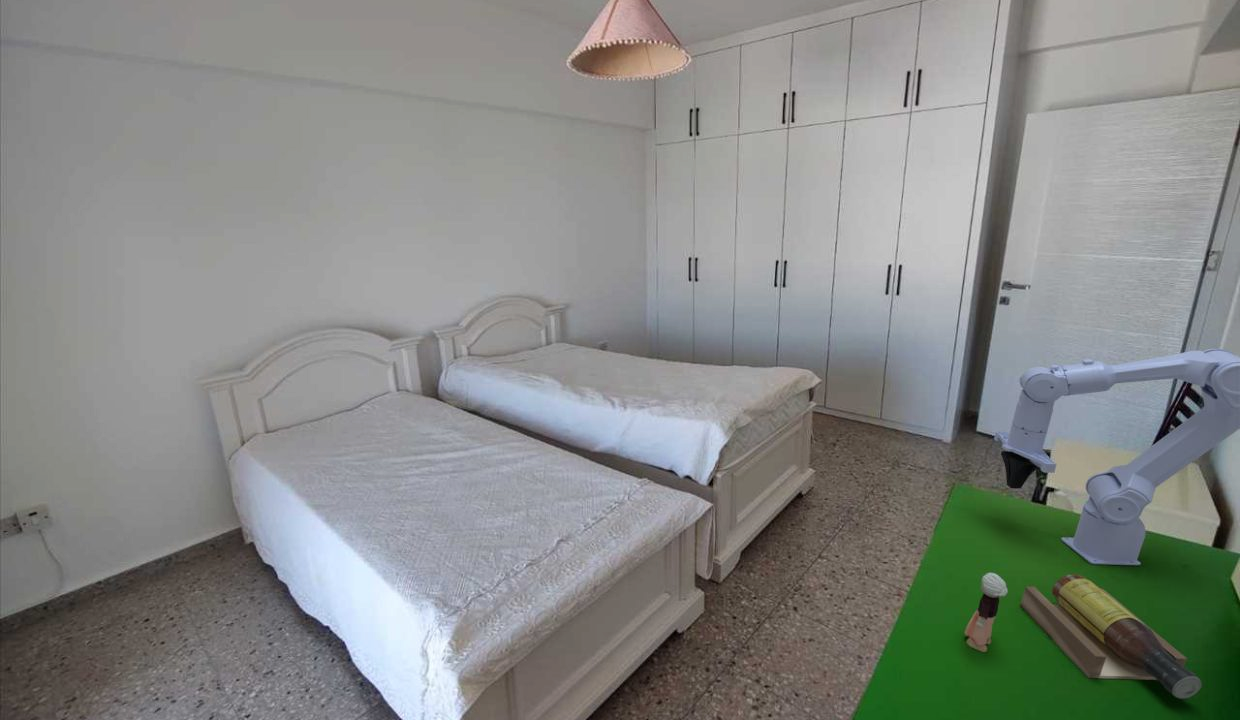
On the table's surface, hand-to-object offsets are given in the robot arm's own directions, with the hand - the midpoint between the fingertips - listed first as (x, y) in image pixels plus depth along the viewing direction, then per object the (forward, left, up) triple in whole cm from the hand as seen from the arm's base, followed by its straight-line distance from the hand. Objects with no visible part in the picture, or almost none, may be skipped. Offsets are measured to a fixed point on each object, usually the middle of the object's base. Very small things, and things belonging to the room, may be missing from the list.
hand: (1013, 486), depth 111 cm
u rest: (+5, +30, -10) cm, 32 cm away
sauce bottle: (+4, +22, -7) cm, 23 cm away
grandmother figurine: (+24, +31, -11) cm, 41 cm away
